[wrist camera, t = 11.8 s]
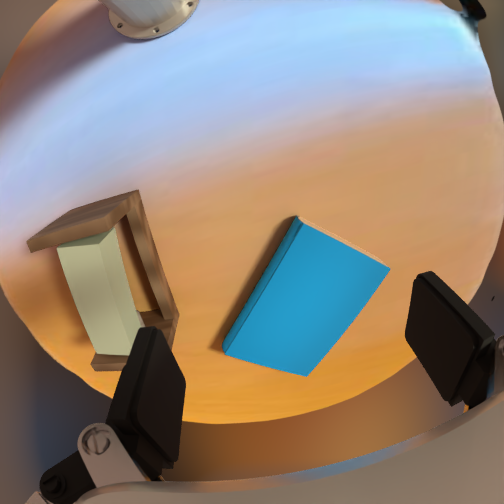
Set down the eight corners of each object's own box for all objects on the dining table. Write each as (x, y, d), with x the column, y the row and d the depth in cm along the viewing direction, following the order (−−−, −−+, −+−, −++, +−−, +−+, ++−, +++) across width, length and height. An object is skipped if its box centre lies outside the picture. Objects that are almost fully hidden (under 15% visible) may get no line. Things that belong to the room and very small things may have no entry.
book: (391, 267, 41) (308, 378, 49) (379, 255, 45) (303, 362, 53) (298, 220, 37) (221, 355, 45) (291, 211, 41) (221, 338, 49)
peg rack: (70, 209, 37) (26, 241, 26) (138, 189, 37) (103, 217, 26) (117, 322, 46) (95, 371, 35) (179, 314, 46) (167, 367, 35)
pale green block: (75, 231, 32) (56, 248, 27) (114, 227, 32) (98, 244, 27) (107, 331, 39) (96, 353, 34) (142, 331, 39) (134, 355, 34)
